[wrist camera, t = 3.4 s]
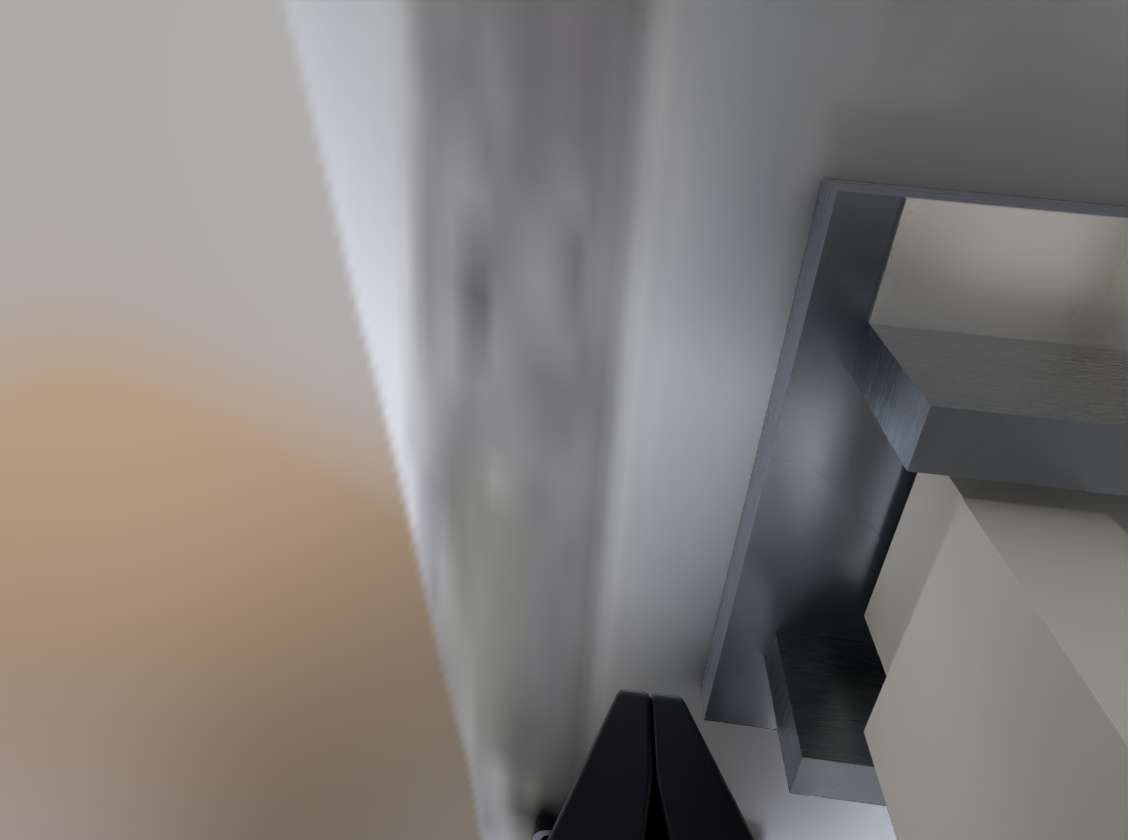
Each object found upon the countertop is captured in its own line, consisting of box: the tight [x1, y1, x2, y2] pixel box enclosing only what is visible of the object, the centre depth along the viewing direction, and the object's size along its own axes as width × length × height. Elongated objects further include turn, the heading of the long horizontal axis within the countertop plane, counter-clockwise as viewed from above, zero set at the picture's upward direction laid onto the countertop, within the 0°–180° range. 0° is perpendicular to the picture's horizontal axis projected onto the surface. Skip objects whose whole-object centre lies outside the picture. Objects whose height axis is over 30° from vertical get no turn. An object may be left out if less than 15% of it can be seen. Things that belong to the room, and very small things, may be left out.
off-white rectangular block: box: [864, 473, 1128, 840], centre depth 10 cm, size 5×4×7 cm
